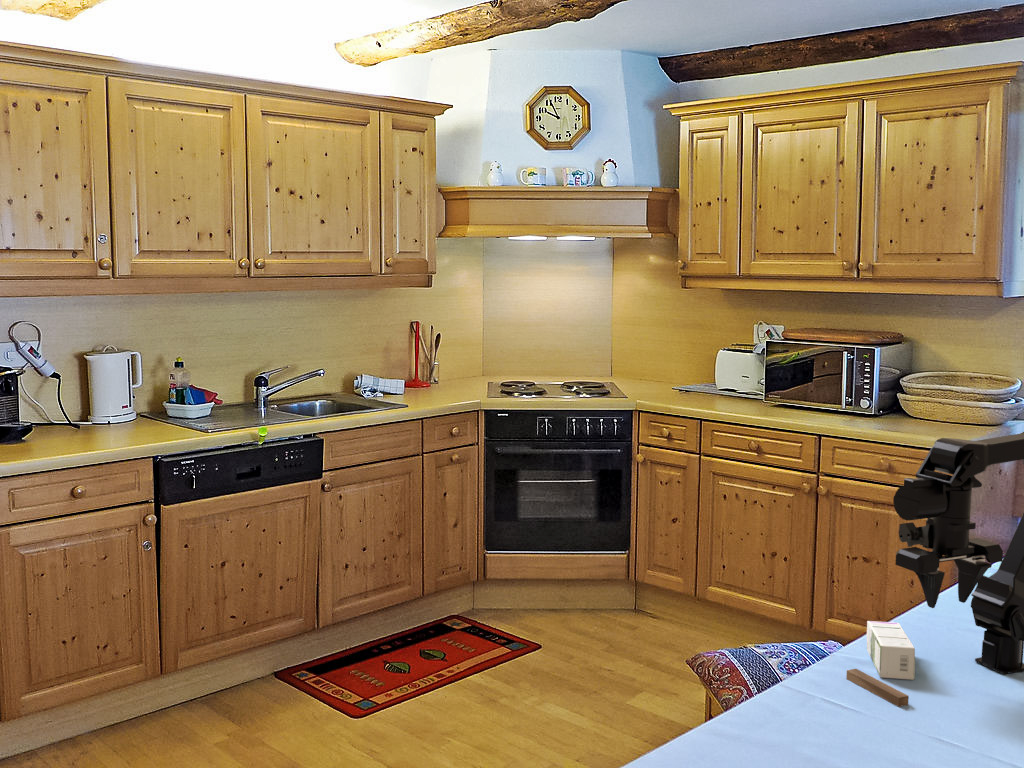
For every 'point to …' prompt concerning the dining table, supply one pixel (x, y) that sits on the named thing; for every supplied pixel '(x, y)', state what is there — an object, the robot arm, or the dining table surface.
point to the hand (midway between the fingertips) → (946, 604)
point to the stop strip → (877, 687)
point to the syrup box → (890, 650)
